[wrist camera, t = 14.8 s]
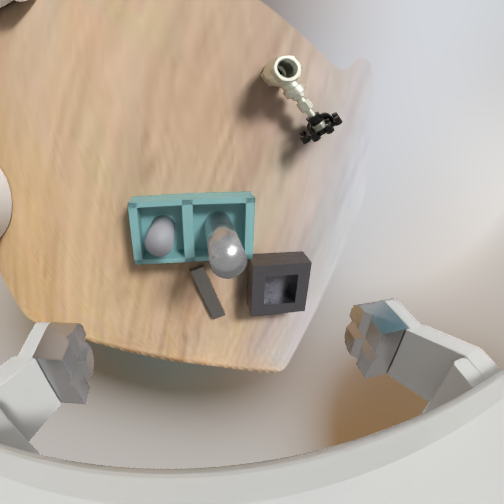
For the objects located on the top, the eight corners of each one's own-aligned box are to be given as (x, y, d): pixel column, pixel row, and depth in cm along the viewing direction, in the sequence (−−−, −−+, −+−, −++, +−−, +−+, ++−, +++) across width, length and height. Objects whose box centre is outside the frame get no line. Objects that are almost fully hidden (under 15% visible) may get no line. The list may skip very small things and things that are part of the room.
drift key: (224, 310, 51) (225, 314, 50) (212, 315, 51) (213, 319, 50) (202, 263, 47) (203, 267, 46) (190, 268, 47) (190, 271, 46)
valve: (245, 76, 36) (296, 142, 41) (255, 69, 30) (313, 146, 35) (282, 52, 35) (329, 117, 40) (298, 42, 29) (351, 118, 34)
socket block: (246, 302, 51) (251, 316, 47) (248, 254, 47) (253, 266, 43) (297, 297, 52) (304, 310, 49) (302, 251, 49) (311, 262, 45)
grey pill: (204, 238, 43) (211, 280, 33) (203, 212, 42) (209, 246, 31) (232, 236, 44) (247, 277, 33) (231, 210, 42) (247, 244, 32)
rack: (138, 254, 43) (131, 276, 37) (132, 196, 40) (121, 211, 33) (248, 248, 47) (257, 269, 40) (250, 191, 43) (260, 205, 36)
